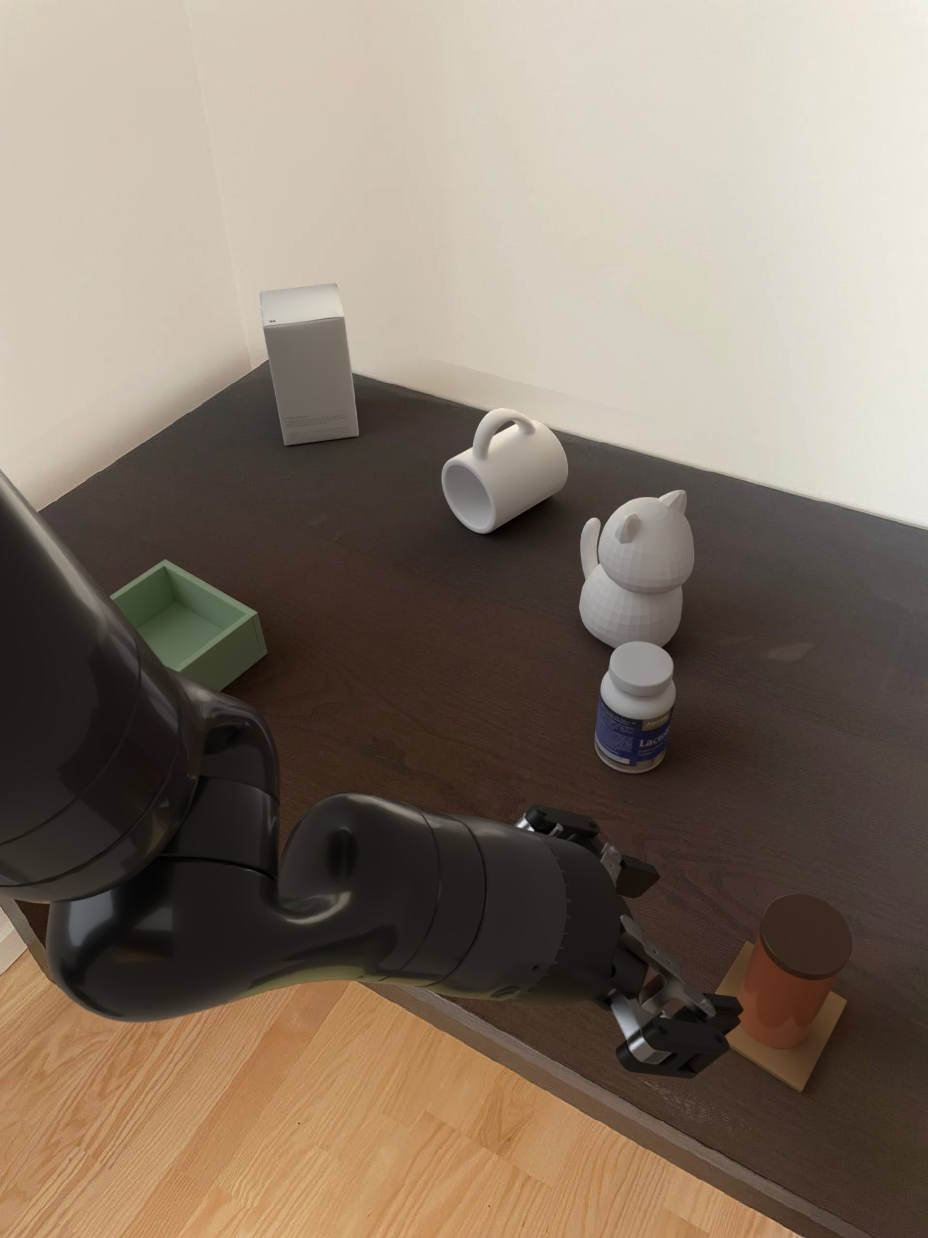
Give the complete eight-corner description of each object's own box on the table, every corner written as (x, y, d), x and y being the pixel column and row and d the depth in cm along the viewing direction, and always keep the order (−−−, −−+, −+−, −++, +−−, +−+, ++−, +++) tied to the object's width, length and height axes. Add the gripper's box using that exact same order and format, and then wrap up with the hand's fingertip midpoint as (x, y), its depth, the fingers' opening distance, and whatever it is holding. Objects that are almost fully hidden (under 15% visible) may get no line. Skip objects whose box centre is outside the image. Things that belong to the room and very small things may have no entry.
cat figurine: (631, 686, 83) (648, 551, 73) (540, 607, 91) (543, 475, 80) (706, 641, 87) (732, 506, 77) (612, 569, 94) (624, 437, 84)
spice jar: (794, 1067, 59) (831, 992, 53) (720, 1018, 62) (746, 940, 55) (827, 1003, 62) (866, 924, 55) (754, 959, 65) (784, 878, 58)
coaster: (800, 1094, 59) (802, 1091, 58) (696, 1025, 62) (697, 1022, 62) (845, 1004, 63) (847, 1000, 62) (745, 943, 66) (747, 940, 66)
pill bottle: (646, 787, 76) (660, 702, 69) (581, 757, 78) (588, 671, 71) (677, 738, 79) (693, 652, 72) (614, 711, 81) (623, 625, 74)
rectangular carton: (361, 437, 113) (345, 316, 103) (284, 447, 112) (260, 326, 102) (353, 397, 119) (338, 280, 109) (280, 407, 118) (257, 289, 108)
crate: (159, 739, 81) (143, 698, 77) (70, 675, 86) (51, 634, 83) (267, 653, 88) (257, 612, 84) (178, 599, 93) (165, 558, 90)
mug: (567, 504, 102) (572, 404, 94) (496, 548, 97) (495, 446, 89) (512, 472, 107) (513, 374, 99) (442, 512, 102) (436, 412, 94)
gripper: (632, 1005, 37) (815, 1023, 48) (487, 738, 47) (666, 804, 58) (504, 1113, 39) (706, 1107, 50) (391, 838, 49) (581, 882, 60)
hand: (685, 945), depth 54 cm, fingers open, 8 cm apart
